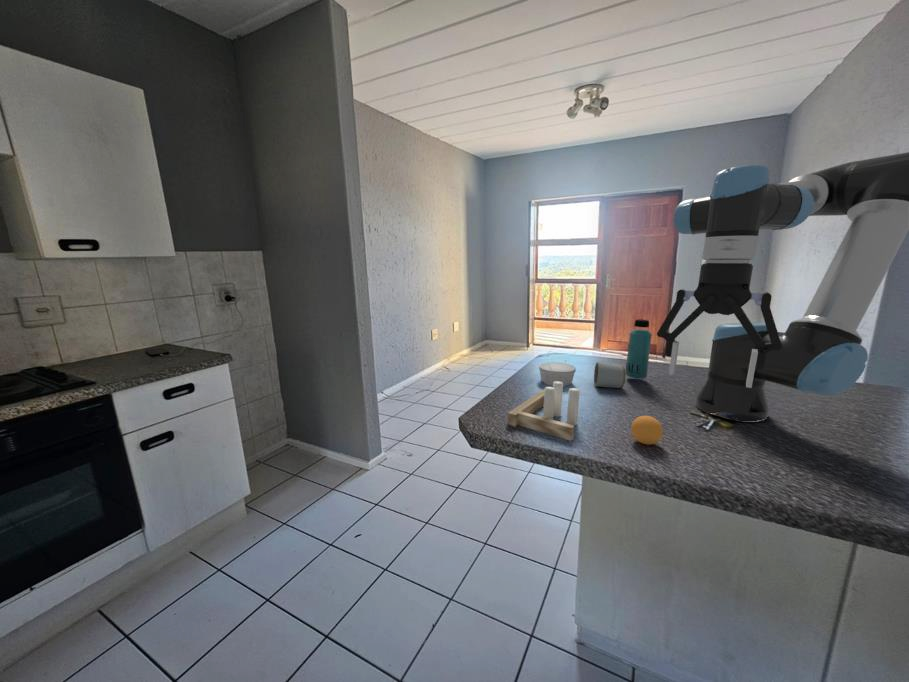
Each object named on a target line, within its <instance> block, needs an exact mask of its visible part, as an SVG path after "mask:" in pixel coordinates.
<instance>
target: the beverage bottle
mask: <svg viewBox="0 0 909 682" xmlns="http://www.w3.org/2000/svg"><path fill="white" fill-rule="evenodd" d="M633 324H634V325H633V326H634V327H637V328H641V329H632V331H630V332H629V340H628V348H627V355H626V363H625V372H626V376H627V377H629V378H631V379H639V380H640V379H641V380H643V379H646V378H647V376H648V372H649V371H648V370H649V362H650V360H649V359H650V357H649V356H650V351H651V350H650V349H651V342H652V341H651V340H652V333H651V332H650V331H649V330H648V329H642V328H649V327H650V321H649V319H644V318H643V319H641V318H640V319H639V318H637V319H635V320H634V323H633Z"/></svg>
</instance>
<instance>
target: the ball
mask: <svg viewBox="0 0 909 682" xmlns="http://www.w3.org/2000/svg"><path fill="white" fill-rule="evenodd" d="M630 431H631V435H632V437H633V438H634V439H635V440H636V441H637V442H639V443H641V444H642V445H648V446H650V445H655V444H657V443H658V442H659V441H661V439H662V438H663V434H664V432H663V431H664V430H663V426H662V424H661V422H660V421H659V420H657V419H656V417H653V416H650V415H640V416H638V417H636V418H635V419H634V420H632V423H631V426H630Z"/></svg>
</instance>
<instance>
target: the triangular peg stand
mask: <svg viewBox="0 0 909 682" xmlns="http://www.w3.org/2000/svg"><path fill="white" fill-rule="evenodd" d="M544 393H545V389H542V390H540V391H538V392H537V393H535V395H532V396H531V397H530V398H528V399H527V400H525V401H524V402H522V403H521V404H519V405H517V406H516V407H514V408H513V409H511V410H510V411H508V413H507V426H511V427H514V428H516V427H517V426H520V427H523V428H526V429H529V428H530V429H529V430H533V431H536V432H540V433H543V434H547V435H549V436H553V437H556V438H560V439H563V440H566V441H570V442H572V440H573V439H574V435H575V425H570V424H567V422H562V421H558V420H555V419H553V420H551V419H548V418H544V417H543V416H540V415H536V414H535V413H536V412H537V411H539V408H540V409H541V408H543V407H544V406H543V405H544ZM536 410H537V411H536ZM535 411H536V412H535Z"/></svg>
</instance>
